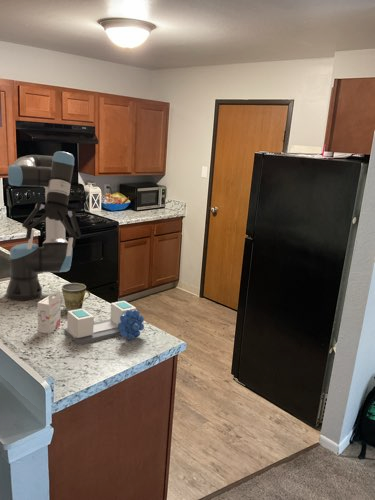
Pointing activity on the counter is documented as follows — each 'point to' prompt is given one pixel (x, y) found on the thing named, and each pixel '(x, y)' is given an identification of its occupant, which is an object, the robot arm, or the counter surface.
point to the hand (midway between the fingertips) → (49, 252)
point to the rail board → (95, 324)
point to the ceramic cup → (74, 295)
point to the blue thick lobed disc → (131, 324)
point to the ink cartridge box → (49, 313)
